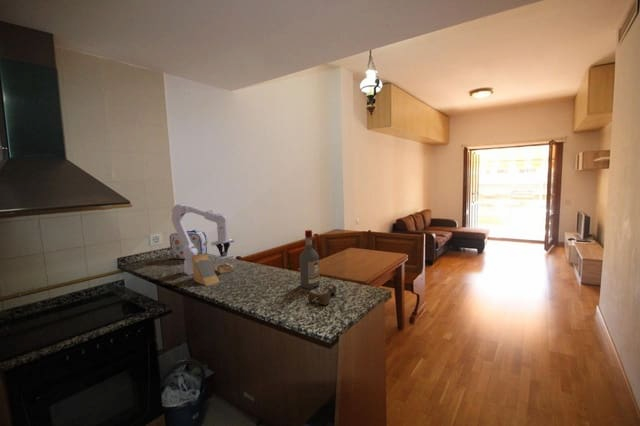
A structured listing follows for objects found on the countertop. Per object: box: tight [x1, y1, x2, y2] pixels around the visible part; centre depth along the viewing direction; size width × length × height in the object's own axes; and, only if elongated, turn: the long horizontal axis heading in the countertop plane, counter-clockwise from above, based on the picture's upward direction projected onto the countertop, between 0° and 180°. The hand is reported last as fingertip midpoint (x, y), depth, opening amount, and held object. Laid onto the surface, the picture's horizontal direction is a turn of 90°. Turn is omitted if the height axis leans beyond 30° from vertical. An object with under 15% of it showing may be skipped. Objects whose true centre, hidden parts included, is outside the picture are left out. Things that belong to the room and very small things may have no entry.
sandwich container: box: [192, 253, 220, 287], centre depth 178 cm, size 9×15×15 cm, turn 47°
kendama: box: [307, 283, 337, 306], centre depth 147 cm, size 6×10×20 cm
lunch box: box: [169, 229, 209, 260], centre depth 230 cm, size 28×10×22 cm, turn 81°
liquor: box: [299, 229, 321, 289], centre depth 166 cm, size 9×9×30 cm
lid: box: [213, 250, 234, 261], centre depth 197 cm, size 10×8×3 cm
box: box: [214, 262, 235, 275], centre depth 198 cm, size 10×8×3 cm
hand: (223, 255), depth 197 cm, fingers closed on lid, 2 cm apart
